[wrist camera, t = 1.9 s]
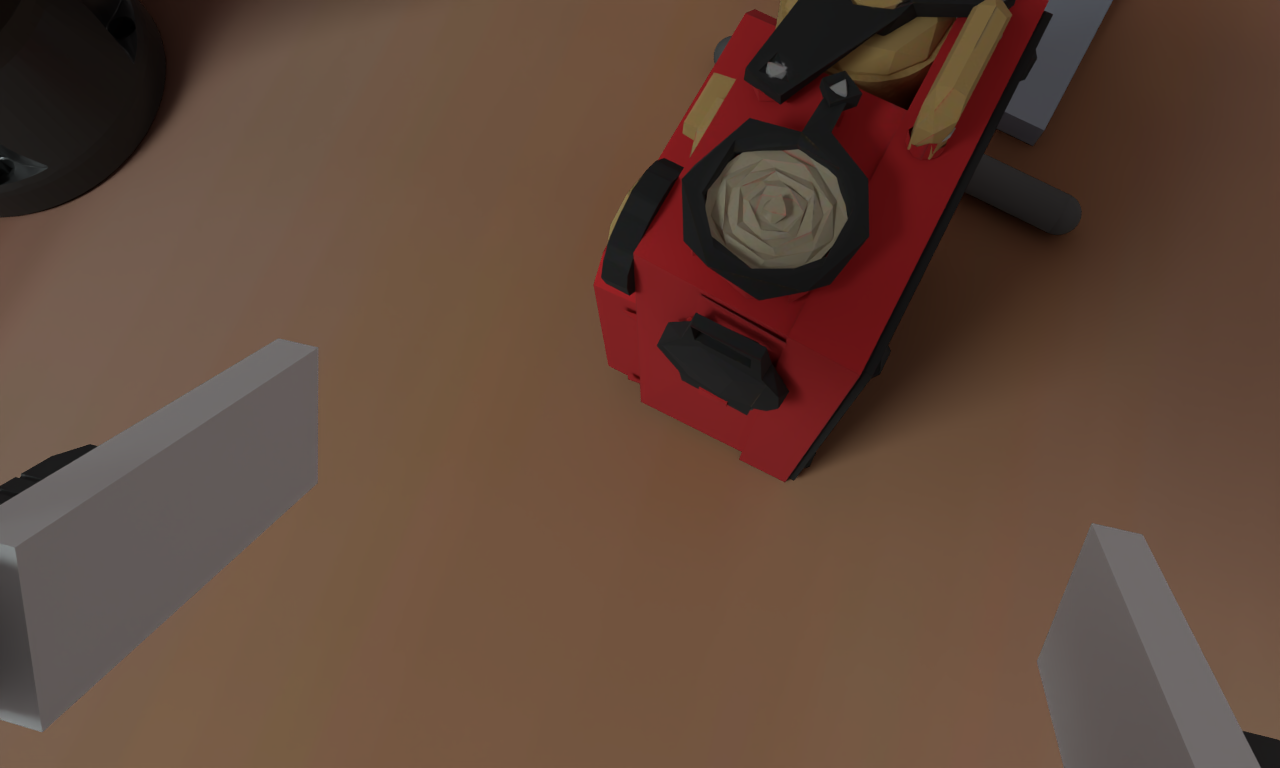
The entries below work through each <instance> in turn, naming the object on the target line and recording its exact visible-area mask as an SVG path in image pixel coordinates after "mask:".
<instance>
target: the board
mask: <svg viewBox="0 0 1280 768" xmlns="http://www.w3.org/2000/svg"><path fill="white" fill-rule="evenodd" d="M1112 1H1113V0H1049V2H1048V4H1047V6H1046V8H1045V10H1044V11H1047V12H1049V13H1051V14H1053V16H1052V18H1051V20H1050V22H1049V24H1048V26H1047V28H1046V30H1045V32H1044V34H1043V36H1042V38H1041V40H1040V42H1039V44H1038V46H1037V48H1036V54H1037V60H1036V62H1035V63H1034V65H1033V67H1032V69H1031V70H1030V72H1029V74H1028V76H1027V77H1026V79H1025V80H1023V81H1020V82H1019V84H1018V86H1017V88H1016V90H1015V92H1014V94H1013V96H1012V98H1011V100H1010V102H1009V104H1008V106H1007V108H1006V110H1005V112H1004V114H1003V116H1002V118H1001V120H1000V122H999V124H998V126H997V128H996V129H998V130H1000V131H1002V132H1005V133H1007V134H1009V135H1011V136H1013V137H1015V138H1017V139H1019V140H1021V141H1024V142H1026V143H1028V144H1030V145H1032V146H1033V145H1034V144H1035V143H1036V141H1037V140H1038V138H1039V137H1040V136H1041V134H1042V133H1043V132H1044V130H1045V128H1046V126H1047V124H1048V122H1049V121H1050V119H1051V117H1052V115H1053V113H1054V111H1055V109H1056V107H1057V105H1058V103H1059V102H1060V100H1061V98H1062V96H1063V94H1064V92H1065V90H1066V88H1067V86H1068V84H1069V83H1070V81H1071V79H1072V77H1073V75H1074V73H1075V71H1076V69H1077V67H1078V65H1079V64H1080V62H1081V60H1082V58H1083V56H1084V54H1085V52H1086V50H1087V48H1088V46H1089V45H1090V43H1091V41H1092V39H1093V37H1094V35H1095V33H1096V31H1097V29H1098V27H1099V26H1100V24H1101V22H1102V20H1103V18H1104V16H1105V14H1106V12H1107V10H1108V8H1109V7H1110V5H1111V3H1112ZM956 18H957V17H956Z"/></svg>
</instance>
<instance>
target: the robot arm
mask: <svg viewBox="0 0 1280 768" xmlns="http://www.w3.org/2000/svg"><path fill="white" fill-rule="evenodd" d="M165 71H166V64H165V53H164V48H163V43H162V40H161V37H160V34H159V31H158V29H157V27H156V24H155V23H154V21H153V19H152V17H151V16H150V14H149V13H148V11H147V10H146V9H145V7H144V6H143V5H142V4H141V2H140V1H139V0H0V217H10V216H19V215H24V214H30V213H34V212H38V211H42V210H45V209H48V208H52V207H54V206H57V205H60V204H62V203H64V202H67V201H69V200H71V199H73V198H75V197H77V196H79V195H81V194H83V193H84V192H86V191H88V190H89V189H91V188H93V187H94V186H96V185H97V184H98V183H100V182H101V181H103V180H104V179H105V178H106V177H108V176H109V175H110V174H111V173H113V172H114V171H115V170H116V169H117V168H118V167H119V166H120V165H121V164H122V163H123V162H124V161H125V160H126V159H127V158H128V157H129V156H130V155H131V153H132V152H133V151H134V150H135V149H136V147H137V146H138V145H139V143H140V142H141V140H142V139H143V137H144V136H145V134H146V133H147V131H148V129H149V127H150V126H151V124H152V122H153V120H154V117H155V115H156V113H157V110H158V107H159V105H160V101H161V98H162V94H163V89H164V83H165ZM317 483H318V347H314V346H309V345H305V344H301V343H296V342H292V341H287V340H283V339H279V338H278V339H277V340H275V341H273V342H272V343H270V344H268V345H267V346H265V347H263V348H262V349H260V350H258V351H257V352H255V353H253V354H252V355H250V356H248V357H247V358H245V359H243V360H241V361H240V362H238V363H236V364H235V365H233V366H231V367H230V368H228V369H226V370H225V371H223V372H221V373H220V374H218V375H216V376H215V377H213V378H211V379H210V380H208V381H206V382H205V383H203V384H201V385H200V386H198V387H196V388H195V389H193V390H191V391H190V392H188V393H186V394H185V395H183V396H181V397H180V398H178V399H176V400H175V401H173V402H171V403H170V404H168V405H166V406H165V407H163V408H161V409H160V410H158V411H156V412H155V413H153V414H151V415H150V416H148V417H146V418H145V419H143V420H141V421H140V422H138V423H136V424H135V425H133V426H131V427H130V428H128V429H126V430H125V431H123V432H121V433H120V434H118V435H116V436H115V437H113V438H111V439H110V440H108V441H106V442H105V443H103V444H101V445H100V446H95V445H91V444H89V445H86V446H83V447H80V448H77V449H73V450H70V451H67V452H64V453H61V454H58V455H54V456H51V457H50V458H48V459H46V460H44V461H43V462H41V463H39V464H37V465H36V466H34V467H32V468H31V469H29V470H27V471H25V472H24V473H22V474H21V477H20V478H17V477H15V478H13V479H11V480H10V481H8V482H6V483H5V484H3V485H1V486H0V720H3V721H7V722H10V723H13V724H17V725H20V726H23V727H27V728H30V729H33V730H37V731H40V732H43V731H44V730H45V729H46V728H48V727H49V726H50V725H51V724H52V723H53V722H54V721H55V720H56V719H57V718H59V717H60V716H61V715H62V714H63V713H64V712H65V711H66V710H67V709H68V708H70V707H71V706H72V705H73V704H74V703H75V702H76V701H77V700H78V699H80V698H81V697H82V696H83V695H84V694H85V693H86V692H87V691H88V690H89V689H91V688H92V687H93V686H94V685H95V684H96V683H97V682H98V681H99V680H101V679H102V678H103V677H104V676H105V675H106V674H107V673H108V672H109V671H110V670H112V669H113V668H114V667H115V666H116V665H117V664H118V663H119V662H120V661H122V660H123V659H124V658H125V657H126V656H127V655H128V654H129V653H130V652H131V651H133V650H134V649H135V648H136V647H137V646H138V645H139V644H140V643H141V642H142V641H144V640H145V639H146V638H147V637H148V636H149V635H150V634H151V633H152V632H154V631H155V630H156V629H157V628H158V627H159V626H160V625H161V624H162V623H163V622H165V621H166V620H167V619H168V618H169V617H170V616H171V615H172V614H173V613H175V612H176V611H177V610H178V609H179V608H180V607H181V606H182V605H183V604H184V603H186V602H187V601H188V600H189V599H190V598H191V597H192V596H193V595H194V594H195V593H197V592H198V591H199V590H200V589H201V588H202V587H203V586H204V585H205V584H207V583H208V582H209V581H210V580H211V579H212V578H213V577H214V576H215V575H216V574H218V573H219V572H220V571H221V570H222V569H223V568H224V567H225V566H226V565H228V564H229V563H230V562H231V561H232V560H233V559H234V558H235V557H236V556H237V555H239V554H240V553H241V552H242V551H243V550H244V549H245V548H246V547H247V546H248V545H250V544H251V543H252V542H253V541H254V540H255V539H256V538H257V537H258V536H260V535H261V534H262V533H263V532H264V531H265V530H266V529H267V528H268V527H269V526H271V525H272V524H273V523H274V522H275V521H276V520H277V519H278V518H279V517H281V516H282V515H283V514H284V513H285V512H286V511H287V510H288V509H289V508H290V507H292V506H293V505H294V504H295V503H296V502H297V501H298V500H299V499H300V498H301V497H303V496H304V495H305V494H306V493H307V492H308V491H309V490H310V489H311V488H313V487H314V486H315V485H316V484H317ZM1037 664H1038V668H1039V671H1040V675H1041V679H1042V683H1043V687H1044V691H1045V695H1046V699H1047V703H1048V707H1049V711H1050V715H1051V719H1052V723H1053V726H1054V730H1055V734H1056V738H1057V742H1058V746H1059V750H1060V754H1061V758H1062V762H1063V766H1064V768H1280V741H1279V740H1277V739H1273V738H1269V737H1265V736H1261V735H1257V734H1253V733H1249V732H1245V731H1242V730H1241V728H1240V726H1239V724H1238V722H1237V720H1236V718H1235V716H1234V714H1233V712H1232V710H1231V708H1230V706H1229V704H1228V702H1227V700H1226V698H1225V696H1224V694H1223V692H1222V690H1221V688H1220V686H1219V684H1218V682H1217V680H1216V678H1215V676H1214V674H1213V672H1212V671H1211V669H1210V667H1209V665H1208V663H1207V661H1206V659H1205V657H1204V655H1203V653H1202V651H1201V649H1200V647H1199V645H1198V643H1197V641H1196V639H1195V637H1194V635H1193V633H1192V631H1191V629H1190V627H1189V625H1188V623H1187V621H1186V619H1185V617H1184V615H1183V613H1182V611H1181V609H1180V607H1179V605H1178V603H1177V601H1176V599H1175V597H1174V595H1173V594H1172V592H1171V590H1170V588H1169V586H1168V584H1167V582H1166V580H1165V578H1164V576H1163V574H1162V572H1161V570H1160V568H1159V566H1158V564H1157V562H1156V560H1155V558H1154V556H1153V554H1152V552H1151V550H1150V548H1149V546H1148V544H1147V542H1146V540H1145V538H1144V536H1143V535H1142V534H1138V533H1133V532H1129V531H1125V530H1120V529H1116V528H1111V527H1107V526H1102V525H1098V524H1094V523H1092V524H1091V526H1090V529H1089V531H1088V534H1087V536H1086V539H1085V541H1084V544H1083V546H1082V549H1081V551H1080V554H1079V556H1078V559H1077V562H1076V564H1075V567H1074V569H1073V572H1072V574H1071V577H1070V579H1069V582H1068V584H1067V587H1066V589H1065V592H1064V594H1063V597H1062V599H1061V602H1060V605H1059V607H1058V610H1057V612H1056V615H1055V617H1054V620H1053V622H1052V625H1051V627H1050V630H1049V632H1048V635H1047V637H1046V640H1045V642H1044V645H1043V648H1042V650H1041V653H1040V655H1039V658H1038V660H1037Z"/></svg>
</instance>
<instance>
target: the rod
mask: <svg viewBox="0 0 1280 768" xmlns="http://www.w3.org/2000/svg"><path fill="white" fill-rule="evenodd" d="M731 37H732V36H729V37H726V38H724V39H723V40H721V41H720V42H719V43H718V45H717V47H716V49H715V52H714V62H715V64H716V62H717V60H718V59H719V57H720V55H721V54H722V52H723V50H724V49H725V47H726V45H727V44H728V42H729V40H730V39H731ZM965 193H968V194H970V195H972V196H974V197H976V198H978V199H980V200H982V201H984V202H986V203H988V204H990V205H992V206H994V207H996V208H998V209H1000V210H1002V211H1004V212H1006V213H1008V214H1011V215H1013V216H1015V217H1017V218H1019V219H1021V220H1023V221H1025V222H1027V223H1029V224H1031V225H1033V226H1035V227H1037V228H1039V229H1041V230H1043V231H1045V232H1047V233H1050V234H1054V235H1061V234H1065V233H1068V232H1070V231H1071V230H1073V229H1074V228H1075V227H1076V226H1077V225H1078V223H1079V221H1080V219H1081V212H1082V211H1081V207H1080V204H1079V202H1078V201H1077V200H1076V199H1075V198H1074V197H1073V196H1071V195H1069V194H1067V193H1065V192H1063V191H1061V190H1058V189H1056V188H1054V187H1052V186H1050V185H1048V184H1046V183H1044V182H1042V181H1040V180H1038V179H1036V178H1033V177H1031V176H1029V175H1027V174H1025V173H1023V172H1021V171H1019V170H1017V169H1015V168H1013V167H1010V166H1008V165H1006V164H1004V163H1002V162H1000V161H998V160H996V159H994V158H992V157H990V156H988V155H985V154H983V156H982V158H981V160H980V162H979V164H978V166H977V168H976V170H975V172H974V174H973V176H972V178H971V180H970V182H969V184H968V186H967V188H966V190H965Z"/></svg>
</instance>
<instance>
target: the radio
mask: <svg viewBox="0 0 1280 768" xmlns="http://www.w3.org/2000/svg"><path fill="white" fill-rule="evenodd" d="M1048 2H1049V0H781V1H780V8H779V11H778V18H777V19H775V18H773V17H771V16H768V15H766V14H764V13H762V12H760V11H758V10H755V9H754V10H752V11H750V12H747V13H745V15H744V17H743V18H742V20H741V22H740V23H739V25H738V27H737V28H736V30H735V32H734V34H733V35H732V37H731V39H730V40H729V42H728V44H727V45H726V47H725V49H724V50H723V52H722V54H721V55H720V57H719V59H718V60H717V62H716V64H715V65H714V67H713V69H712V70H711V72H710V74H709V75H708V77H707V79H706V80H705V82H704V84H703V85H702V87H701V89H700V91H699V92H698V94H697V96H696V97H695V99H694V101H693V102H692V104H691V106H690V107H689V109H688V111H687V112H686V114H685V116H684V117H683V119H682V121H681V122H680V124H679V126H678V127H677V129H676V131H675V132H674V134H673V136H672V137H671V139H670V141H669V142H668V144H667V146H666V148H665V149H664V151H663V153H662V154H661V156H660V158H659V159H658V160H657V161H655V162H654V163H653V164H652V165H651V166H650V167H649V168H648V169H647V170H646V171H645V173H644V174H643V175H642V177H641V178H640V179H639V180H638V181H637V183H636V184H635V185H634V186H633V187H632V189H631V190H630V191H629V192H628V193H627V195H626V197H625V199H624V201H623V203H622V205H621V206H620V208H619V210H618V212H617V214H616V216H615V218H614V220H613V222H612V224H611V226H610V232H609V238H608V244H607V246H606V248H605V250H604V252H603V255H602V258H601V262H600V265H599V268H598V272H597V275H596V279H595V282H594V290H595V295H596V300H597V306H598V311H599V317H600V322H601V328H602V333H603V338H604V344H605V349H606V355H607V360H608V365H609V366H610V367H612V368H614V369H616V370H618V371H620V372H622V373H624V374H626V375H628V379H629V380H632V381H635V382H637V383H640V392H641V402H643V403H645V404H647V405H649V406H651V407H653V408H655V409H657V410H659V411H661V412H663V413H665V414H667V415H669V416H671V417H673V418H675V419H677V420H679V421H681V422H683V423H685V424H687V425H689V426H691V427H693V428H695V429H697V430H699V431H701V432H703V433H705V434H707V435H709V436H711V437H713V438H715V439H717V440H719V441H721V442H723V443H725V444H727V445H729V446H731V447H733V448H735V449H737V450H739V451H741V452H742V453H741V456H740V459H739V460H741V461H743V462H745V463H747V464H749V465H751V466H753V467H755V468H757V469H759V470H761V471H763V472H765V473H767V474H769V475H771V476H773V477H775V478H777V479H779V480H781V481H784V482H785V481H786V480H787V479H788V478H790V479H792V480H795V479H796V477H797V476H798V475H799V473H800V472H801V471H802V469H803V468H806V467H809V466H810V464H811V462H812V460H813V458H814V456H815V454H816V451H817V449H818V448H819V447H820V445H821V444H822V443H823V441H824V440H825V439H826V437H827V436H828V435H829V433H830V432H831V431H832V429H833V428H834V427H835V425H836V424H837V423H838V421H839V420H840V419H841V418H842V416H843V415H844V414H845V412H846V411H847V410H848V408H849V407H850V406H851V404H852V403H853V402H854V400H855V399H856V398H857V396H858V395H859V394H860V392H861V391H862V390H863V388H864V387H865V386H866V384H867V383H868V382H869V380H870V379H871V378H873V377H875V376H877V375H879V374H880V373H881V371H882V369H883V366H884V364H885V362H886V360H887V358H888V356H889V354H890V352H891V351H890V348H889V346H888V344H889V342H890V340H891V338H892V336H893V334H894V332H895V330H896V328H897V326H898V324H899V322H900V320H901V318H902V316H903V314H904V312H905V310H906V308H907V306H908V304H909V302H910V300H911V298H912V296H913V294H914V292H915V290H916V288H917V286H918V284H919V282H920V280H921V278H922V276H923V274H924V272H925V270H926V268H927V266H928V264H929V262H930V260H931V258H932V256H933V254H934V252H935V250H936V248H937V246H938V244H939V242H940V240H941V238H942V236H943V234H944V232H945V230H946V228H947V226H948V224H949V222H950V220H951V218H952V216H953V214H954V212H955V210H956V208H957V206H958V204H959V202H960V200H961V198H962V196H963V194H964V192H965V190H966V188H967V186H968V184H969V182H970V180H971V178H972V176H973V174H974V172H975V170H976V168H977V166H978V164H979V162H980V160H981V158H982V156H983V154H984V152H985V150H986V148H987V146H988V144H989V142H990V140H991V138H992V136H993V134H994V132H995V130H996V128H997V126H998V124H999V122H1000V120H1001V118H1002V116H1003V114H1004V112H1005V110H1006V108H1007V106H1008V104H1009V102H1010V100H1011V98H1012V96H1013V94H1014V92H1015V90H1016V88H1017V86H1018V84H1019V82H1020V81H1023V80H1025V79H1026V77H1027V76H1028V74H1029V72H1030V70H1031V69H1032V67H1033V65H1034V63H1035V62H1036V60H1037V54H1036V48H1037V46H1038V44H1039V42H1040V40H1041V38H1042V36H1043V34H1044V32H1045V30H1046V28H1047V26H1048V24H1049V22H1050V20H1051V18H1052V16H1053V14H1051V13H1049V12H1047V11H1044V10H1045V8H1046V6H1047V4H1048ZM956 17H957V18H956Z"/></svg>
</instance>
